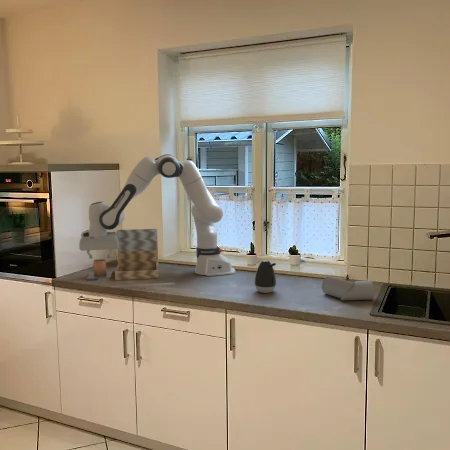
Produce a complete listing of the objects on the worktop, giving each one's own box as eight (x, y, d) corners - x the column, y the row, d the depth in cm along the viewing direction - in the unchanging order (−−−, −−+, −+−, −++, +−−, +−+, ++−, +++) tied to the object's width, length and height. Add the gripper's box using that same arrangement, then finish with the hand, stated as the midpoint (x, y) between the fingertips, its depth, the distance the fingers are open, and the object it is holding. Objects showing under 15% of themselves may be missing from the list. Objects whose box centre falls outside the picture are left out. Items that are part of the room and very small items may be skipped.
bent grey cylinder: (330, 301, 203) (376, 300, 204) (329, 277, 204) (374, 276, 205) (319, 298, 220) (361, 297, 222) (318, 276, 221) (360, 275, 223)
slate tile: (112, 273, 261) (112, 271, 261) (110, 279, 248) (110, 277, 248) (90, 274, 260) (90, 272, 260) (86, 280, 246) (86, 278, 246)
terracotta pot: (107, 273, 257) (106, 258, 256) (105, 276, 251) (105, 261, 250) (94, 273, 256) (94, 258, 255) (93, 276, 250) (92, 261, 249)
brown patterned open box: (158, 270, 266) (157, 228, 262) (158, 279, 246) (157, 234, 243) (118, 272, 263) (116, 229, 259) (115, 281, 243) (113, 235, 240)
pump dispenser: (270, 296, 216) (270, 263, 214) (250, 292, 221) (250, 261, 219) (280, 290, 224) (280, 259, 222) (260, 287, 230) (261, 257, 228)
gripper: (118, 230, 255) (120, 255, 257) (79, 232, 252) (81, 257, 254) (117, 232, 249) (119, 258, 251) (77, 234, 246) (79, 260, 248)
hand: (99, 257), depth 253 cm, fingers open, 8 cm apart
